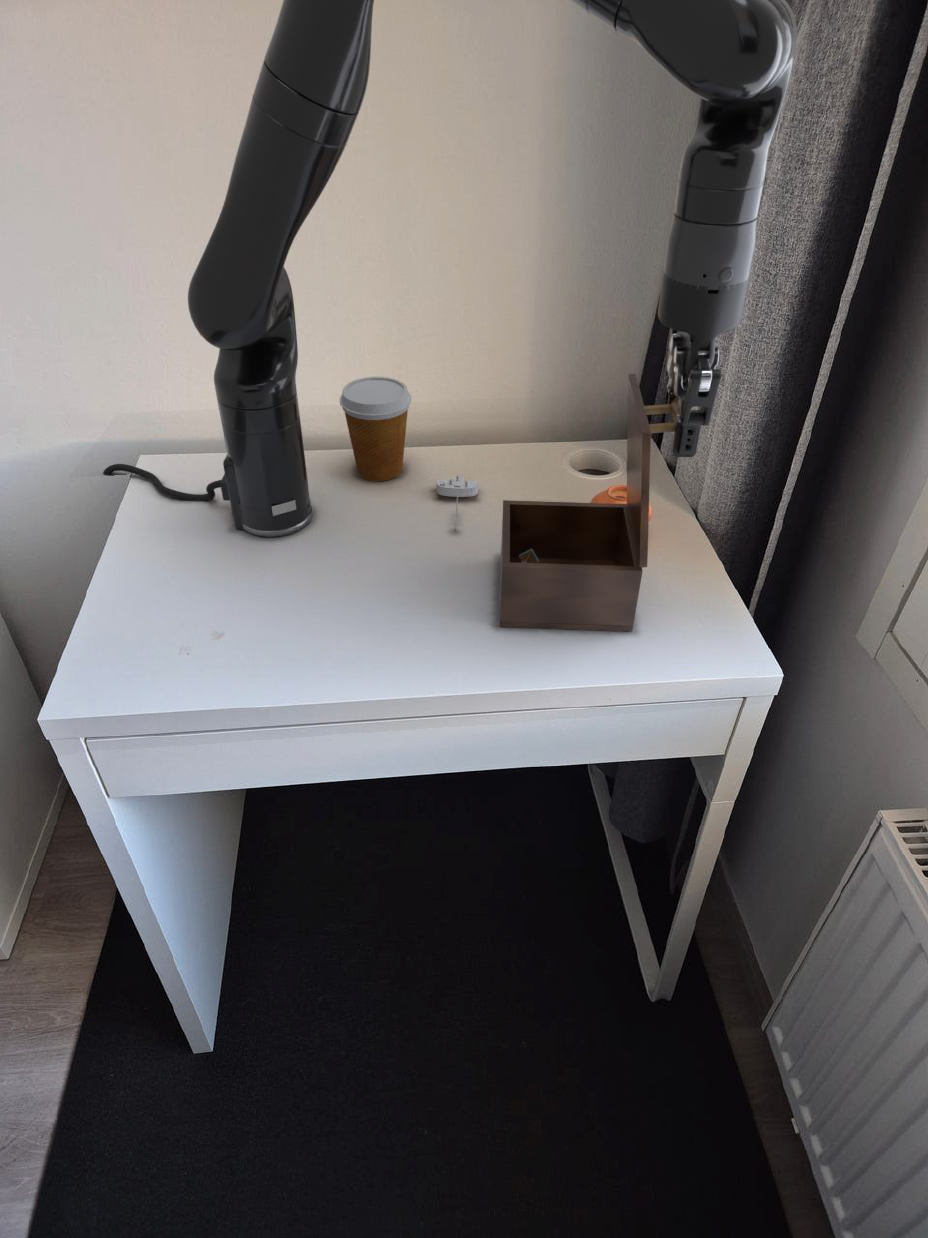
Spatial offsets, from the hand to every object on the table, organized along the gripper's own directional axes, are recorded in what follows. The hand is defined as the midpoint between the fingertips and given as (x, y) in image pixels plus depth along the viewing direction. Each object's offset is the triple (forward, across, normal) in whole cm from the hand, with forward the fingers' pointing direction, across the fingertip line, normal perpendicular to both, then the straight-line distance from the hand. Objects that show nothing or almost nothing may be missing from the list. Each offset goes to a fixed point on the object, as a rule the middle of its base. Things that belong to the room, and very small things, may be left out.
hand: (679, 440), depth 87 cm
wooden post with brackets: (+18, 0, -14) cm, 23 cm away
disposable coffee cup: (+19, -27, -35) cm, 48 cm away
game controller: (+20, -18, -24) cm, 36 cm away
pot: (+20, -13, -3) cm, 24 cm away
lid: (+3, 0, -4) cm, 5 cm away
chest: (+20, 0, -11) cm, 22 cm away
